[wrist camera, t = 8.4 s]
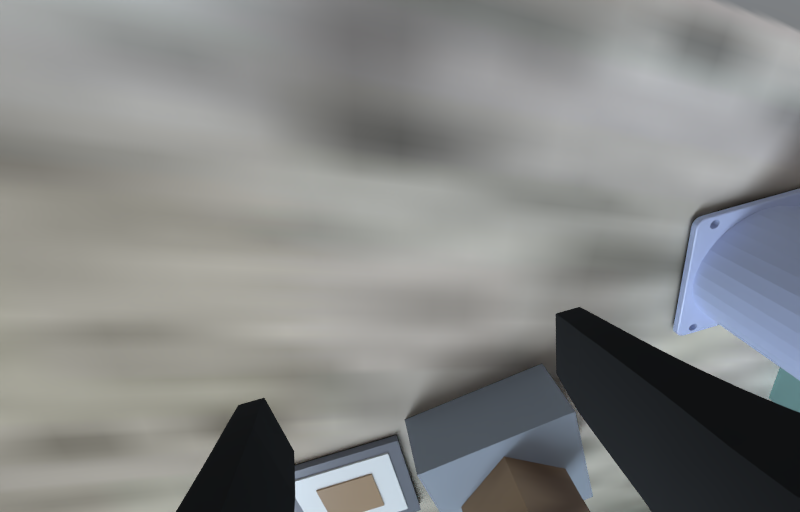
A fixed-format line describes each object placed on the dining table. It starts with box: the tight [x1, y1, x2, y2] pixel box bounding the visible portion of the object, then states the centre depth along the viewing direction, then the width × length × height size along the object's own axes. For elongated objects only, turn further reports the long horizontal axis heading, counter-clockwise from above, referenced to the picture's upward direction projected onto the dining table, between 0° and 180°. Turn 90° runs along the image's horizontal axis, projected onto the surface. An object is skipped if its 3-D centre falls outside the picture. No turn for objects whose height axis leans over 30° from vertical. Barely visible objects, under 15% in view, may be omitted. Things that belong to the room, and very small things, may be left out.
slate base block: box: [405, 364, 593, 512], centre depth 25 cm, size 9×9×4 cm
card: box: [294, 435, 421, 512], centre depth 26 cm, size 8×8×1 cm
